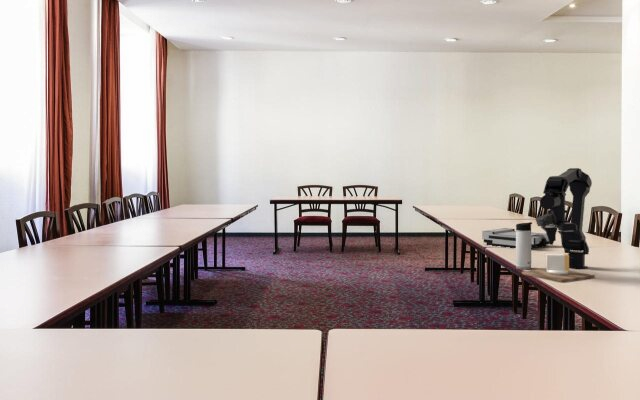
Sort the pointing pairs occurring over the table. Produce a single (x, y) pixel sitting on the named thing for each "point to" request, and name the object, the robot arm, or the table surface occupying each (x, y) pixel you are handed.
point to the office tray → (512, 238)
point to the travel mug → (523, 246)
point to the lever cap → (557, 264)
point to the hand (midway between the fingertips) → (557, 246)
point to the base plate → (558, 278)
